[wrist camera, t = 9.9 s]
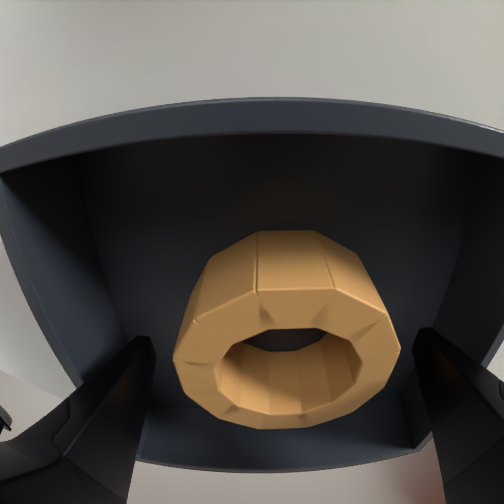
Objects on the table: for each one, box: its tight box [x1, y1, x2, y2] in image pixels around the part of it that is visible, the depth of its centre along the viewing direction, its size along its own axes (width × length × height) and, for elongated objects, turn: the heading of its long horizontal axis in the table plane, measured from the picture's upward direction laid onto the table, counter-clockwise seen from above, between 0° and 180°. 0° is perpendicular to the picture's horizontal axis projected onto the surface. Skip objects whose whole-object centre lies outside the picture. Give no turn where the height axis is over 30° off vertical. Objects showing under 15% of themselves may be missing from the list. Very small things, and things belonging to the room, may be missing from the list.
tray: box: [0, 97, 504, 473], centre depth 9 cm, size 14×14×4 cm
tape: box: [173, 230, 401, 429], centre depth 9 cm, size 6×6×3 cm
